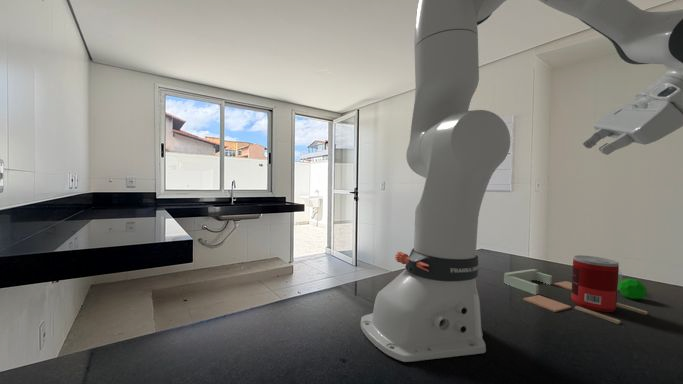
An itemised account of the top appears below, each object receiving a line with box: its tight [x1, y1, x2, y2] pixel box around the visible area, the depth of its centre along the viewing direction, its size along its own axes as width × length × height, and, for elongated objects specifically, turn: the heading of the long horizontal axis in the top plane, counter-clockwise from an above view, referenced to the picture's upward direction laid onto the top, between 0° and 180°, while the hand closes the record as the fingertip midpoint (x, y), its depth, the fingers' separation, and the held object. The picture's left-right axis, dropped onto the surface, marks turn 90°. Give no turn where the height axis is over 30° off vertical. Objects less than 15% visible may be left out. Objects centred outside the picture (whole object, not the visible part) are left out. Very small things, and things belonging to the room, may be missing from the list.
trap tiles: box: [522, 280, 572, 313], centre depth 72 cm, size 26×11×1 cm, turn 114°
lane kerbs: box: [574, 302, 648, 325], centre depth 65 cm, size 13×12×1 cm
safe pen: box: [503, 268, 553, 296], centre depth 78 cm, size 13×9×3 cm
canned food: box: [570, 254, 620, 313], centre depth 66 cm, size 8×8×11 cm
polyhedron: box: [618, 278, 648, 300], centre depth 72 cm, size 5×5×5 cm
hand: (593, 149), depth 64 cm, fingers open, 8 cm apart
